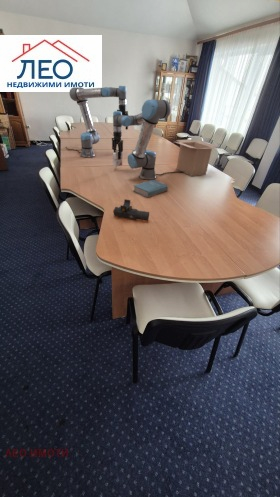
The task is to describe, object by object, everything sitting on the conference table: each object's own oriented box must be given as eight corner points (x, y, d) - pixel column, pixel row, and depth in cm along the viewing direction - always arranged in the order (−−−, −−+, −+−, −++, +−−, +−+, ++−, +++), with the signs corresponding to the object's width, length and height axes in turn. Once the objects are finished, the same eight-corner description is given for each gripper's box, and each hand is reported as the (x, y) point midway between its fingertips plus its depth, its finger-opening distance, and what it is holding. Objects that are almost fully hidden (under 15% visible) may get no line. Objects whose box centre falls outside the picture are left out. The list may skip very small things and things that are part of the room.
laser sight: (146, 224, 135) (147, 209, 129) (111, 219, 138) (111, 204, 132) (149, 217, 143) (150, 203, 137) (115, 212, 146) (115, 198, 140)
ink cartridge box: (118, 164, 219) (119, 148, 210) (122, 165, 217) (122, 149, 208) (112, 165, 214) (112, 149, 205) (115, 166, 211) (115, 150, 203)
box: (218, 176, 220) (226, 147, 204) (190, 180, 206) (196, 149, 190) (191, 164, 250) (196, 137, 234) (164, 166, 236) (168, 138, 220)
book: (152, 185, 190) (153, 179, 187) (167, 191, 181) (167, 185, 178) (133, 191, 176) (133, 185, 173) (147, 198, 167) (148, 191, 164)
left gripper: (111, 103, 227) (111, 126, 239) (128, 106, 214) (128, 130, 227) (116, 103, 231) (116, 126, 244) (133, 106, 219) (133, 129, 231)
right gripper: (107, 130, 200) (108, 156, 214) (121, 133, 191) (120, 161, 204) (114, 129, 205) (114, 155, 218) (127, 132, 195) (126, 160, 209)
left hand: (122, 128), depth 235 cm, fingers open, 13 cm apart
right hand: (117, 158), depth 211 cm, fingers closed on ink cartridge box, 5 cm apart
